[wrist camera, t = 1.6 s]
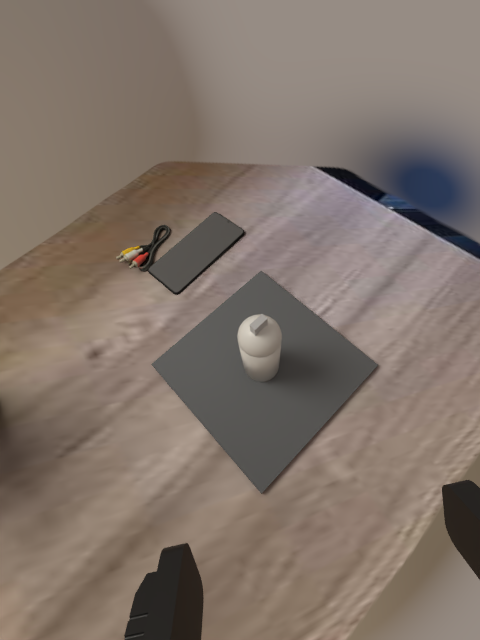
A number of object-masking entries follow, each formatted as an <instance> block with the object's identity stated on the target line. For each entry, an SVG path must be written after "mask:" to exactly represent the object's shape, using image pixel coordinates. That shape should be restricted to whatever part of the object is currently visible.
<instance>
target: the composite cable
mask: <svg viewBox="0 0 480 640" xmlns="http://www.w3.org/2000/svg"><path fill="white" fill-rule="evenodd" d="M162 230H166V233H165V235H164V236H163V237H162V238H161V239H160V240H158V242H157V239H158V236H159V234H160V232H161V231H162ZM169 233H170V229H169V227H168V226H166V225H161V226H159V227H158V228H156V230H155V231H154V235H153V240H152V242H151V243H150V244H149V245H141V246H137V247H131V248H128V249H126V250H124V251H122V252H121V255H120V256H118V257H116V258H117V259H120V258H122V257H124V258H123V259H121V260H120V263H121V262H123V261H127V262H128V261H131V262H129V263H128V264H129V266H130V269H131V268H133V267H137V266H138V267H139V268H140V270H141V271H146V270H148V269H149V268H150V266H151V265H152V262H153V257H154V253H155V251H156V249H157V248H158V247H159V246H160V245H161V244H162V243H163V242H164V240H165V239H166V238H167V237H168V235H169ZM156 242H157V243H156ZM141 247H142V248H141ZM149 255H150V257H149V261H148V262H147V264H146V265H145V266H142V267H141V264H142V263H143V262H144V261H145V260H146V257H148V256H149Z"/></svg>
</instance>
